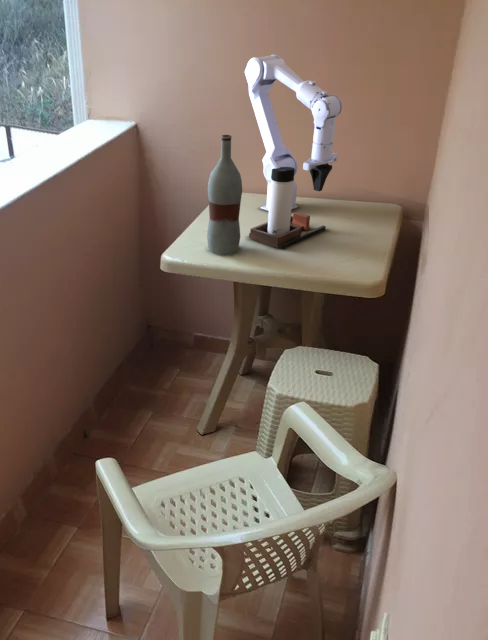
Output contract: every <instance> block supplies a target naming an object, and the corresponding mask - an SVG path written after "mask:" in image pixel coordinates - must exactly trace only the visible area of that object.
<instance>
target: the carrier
mask: <svg viewBox="0 0 488 640" xmlns="http://www.w3.org/2000/svg"><path fill="white" fill-rule="evenodd" d="M292 214H293V215H292V216H293V221H292V222H291V223H292V224H290V231H289V232H287V233H285V234H282V235H280V236H275V235H272V234H269V233H267V232H268V231H267V230H268V221H266V222H264V223H261V224H258V225H256V226H254V227H251V228H250V230H249V231H250V232H249V233H250V237H249V240H252V241H255V242H258V243H261V244H264V245H267V246H269V247H272V248H277V249H278V248H281V244H282V243H285V242H287V241H289V240H291V239H294V238H296V237H298V236H300V235H302V230H304V231H307V230H309V229H310V221H311V215H309V214H305V213H302V212H299V211H295V212H293V213H292Z"/></svg>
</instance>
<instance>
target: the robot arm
mask: <svg viewBox="0 0 488 640" xmlns="http://www.w3.org/2000/svg"><path fill="white" fill-rule="evenodd" d="M244 75H245V78H246V82H247V84H248V86H247V87H248V96H249V99H250V103H251V105H252V108H253V112H254V116H255V119H256V122H257V126H258V130H259V132H260V136H261V138H262V142H263V145H264V148H265V154H264V155H263V158H262V160H261V161H262V165H263V176H264V178H265V179H266V182H267V188H266V189H267V191H266V192H267V193H266V204H265V205H261V206H260V209H261V210H264V211H267V212H269V201H270V187H271V176H272V169H274V168H275V169H276V168H280V167H293V168H295V172H294V176H295V175H296V174H297V172H298V169H299V167H298V162H297V159H296V158H295V157H294V156H293V153H292V150H291V149H289V148H288V147H287V146H285V145H284V142H283V139H282V135H281V131H280V128H279V124H278V122H277V119H276V115H275V111H274V108H273V105H272V102H271V98H270V95H269V93H270V91H271V89H272V87H273V86H274V84H276V82H277V80H278V81H279V82H280V83H282V84H283V85H284V86H286V87H288V88H289V89H291V90H292V91H294V92H295V94H296V95H295V96H296V99H297V100H298V101H299V102H301V103H302V105H304V106H305V107H306V108H308V109H309V110H310V111H311V114H312V117H313V125H314V127H313V128H314V129H313V138H312V148H311V157H310V158H308V159H307V160H306V161H305V162H303V165H302V170H304V171H308V172H309V173H310V176H311V180H312V187H313V191H315V192H321V191H323V189H324V185H325V183H326V181H327V178H328V176H329V175H330V173H331V172H332V170H333V165H332V164H335V162H338V161H339V153H335V152H333V147H334V142H335V141H334V139H335V132H336V123H337V118H338V116H339V115H340V114H341V112H342V109H343V105H342V100H341V99H340V97H338V95H337V94H328V91H327V90H323V89H322V88H320V86H318V85H317V82H316V81H315V80H309V79H307V80H303V78H301V76H299V75H298V74H297V73H296V72H294V71H293V70H292V68H291V67H289V66H288V65H287V64H286V62H285V59H284V58H281V57H280V56H279V55H277V54H271V55H266V56H260V57H258V56H257V57H255V56H254V57H251V58H250V59H249V60H248V61H247V64H246V67H245V70H244ZM297 192H298V185H297V182H296V180H295V179H294V186H293V197H292V208H291V211H292V210H295V209H297V208H298V205H297V204H296V202H297Z"/></svg>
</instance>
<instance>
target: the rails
mask: <svg viewBox="0 0 488 640" xmlns="http://www.w3.org/2000/svg"><path fill="white" fill-rule="evenodd" d="M292 222H293V215H291V219H290V223H292ZM326 227H327V225H320V226H318V227H316V228H314V229H312V230H309V231H307V232H305V233H302V234H301V235H300V236H298V237H296V238H294V239H291V240H289V241H287V242H285V243H282V244H281V247H280V249H286V248H289V247H292V246H294V245H296V244H297V243H300V242H302V241H304V240H305V241H306V240H307V239H310V238H311V237H314V236H316V235H318V234H320V233H322V232H324V231H326ZM248 238H250V232H249V234H248Z"/></svg>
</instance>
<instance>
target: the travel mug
mask: <svg viewBox="0 0 488 640" xmlns="http://www.w3.org/2000/svg"><path fill="white" fill-rule="evenodd" d="M294 172H295V168H293V167H280V168H276V169H275V168H274V169H272V176H271V187H270V201H269V211H268V218H267V222H268V230H267V231H268V232H267V233H269V234H272V235H275V236H280V235H282V234H285V233H287V232H289V231H290V225H291V222H290V219H291V216H292V210H291V208H292V197H293V186H294V180H295V175H294Z"/></svg>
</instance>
